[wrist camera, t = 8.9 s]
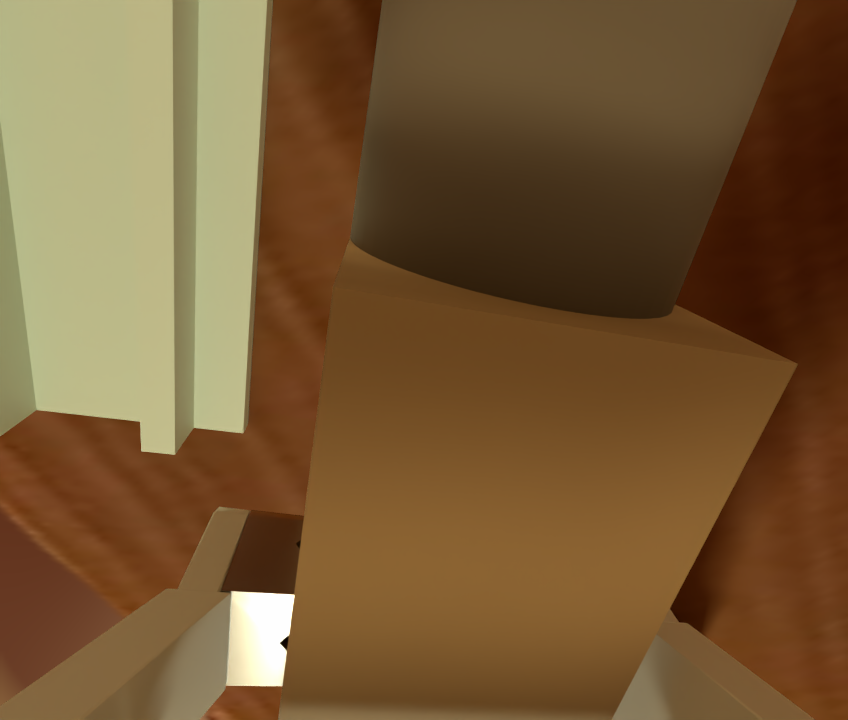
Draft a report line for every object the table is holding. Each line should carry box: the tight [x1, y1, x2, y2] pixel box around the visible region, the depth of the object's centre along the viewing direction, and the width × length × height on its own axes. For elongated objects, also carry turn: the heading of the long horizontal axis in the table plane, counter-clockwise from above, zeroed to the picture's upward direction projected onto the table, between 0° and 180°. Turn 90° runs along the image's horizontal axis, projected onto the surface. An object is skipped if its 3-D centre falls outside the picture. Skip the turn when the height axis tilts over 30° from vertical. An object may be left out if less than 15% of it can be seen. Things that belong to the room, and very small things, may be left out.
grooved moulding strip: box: [0, 0, 273, 455], centre depth 20 cm, size 22×14×4 cm, turn 169°
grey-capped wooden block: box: [278, 0, 798, 720], centre depth 8 cm, size 15×4×5 cm, turn 169°
